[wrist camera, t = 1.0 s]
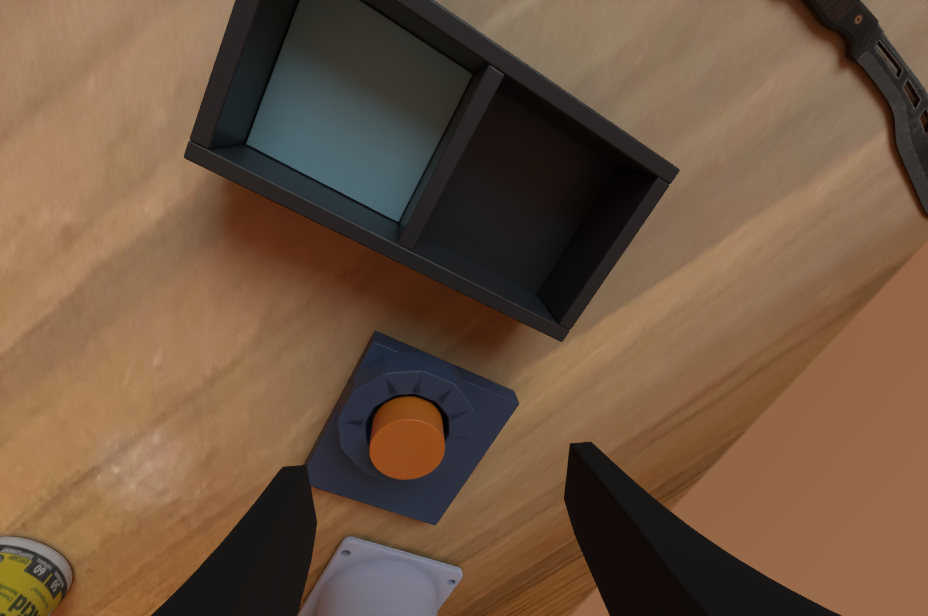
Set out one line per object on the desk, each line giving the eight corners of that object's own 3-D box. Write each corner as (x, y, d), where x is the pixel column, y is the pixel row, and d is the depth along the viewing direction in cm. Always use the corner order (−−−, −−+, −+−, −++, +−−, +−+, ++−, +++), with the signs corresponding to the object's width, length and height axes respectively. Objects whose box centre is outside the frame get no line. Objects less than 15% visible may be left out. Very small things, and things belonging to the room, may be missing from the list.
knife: (934, 226, 23) (987, 176, 22) (944, 229, 22) (998, 178, 22) (747, 12, 18) (806, -63, 17) (756, 9, 17) (816, -68, 17)
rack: (536, 305, 22) (562, 342, 18) (229, 149, 18) (182, 157, 14) (630, 160, 20) (681, 169, 16) (304, -57, 15) (271, -112, 12)
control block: (434, 508, 26) (437, 554, 23) (302, 465, 24) (288, 510, 21) (519, 382, 23) (534, 417, 21) (378, 320, 21) (374, 350, 18)
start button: (422, 461, 21) (423, 488, 20) (360, 439, 20) (356, 466, 19) (454, 410, 20) (458, 435, 19) (391, 385, 20) (389, 408, 18)
